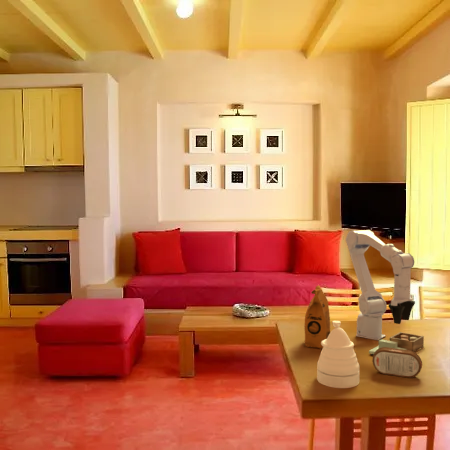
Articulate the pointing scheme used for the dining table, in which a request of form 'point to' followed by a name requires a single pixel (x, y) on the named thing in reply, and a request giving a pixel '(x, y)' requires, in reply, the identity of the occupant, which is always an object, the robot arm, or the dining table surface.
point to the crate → (408, 341)
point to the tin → (397, 362)
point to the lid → (385, 345)
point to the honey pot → (338, 360)
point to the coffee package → (317, 320)
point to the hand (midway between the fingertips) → (401, 321)
